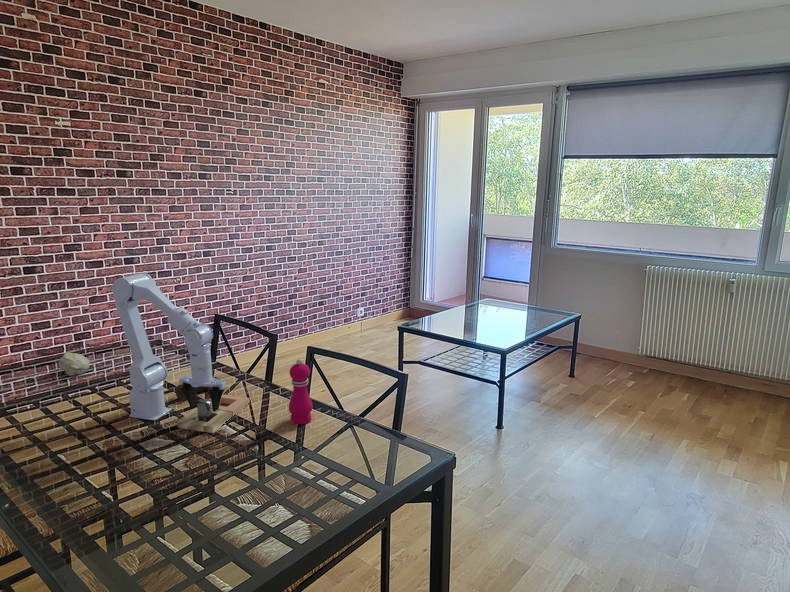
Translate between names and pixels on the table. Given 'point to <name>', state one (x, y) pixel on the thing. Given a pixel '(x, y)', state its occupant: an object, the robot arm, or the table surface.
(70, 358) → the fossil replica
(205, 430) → the pin mount
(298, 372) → the pepper mill
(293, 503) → the table surface
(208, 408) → the pin
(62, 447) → the table surface
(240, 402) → the socket block
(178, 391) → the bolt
